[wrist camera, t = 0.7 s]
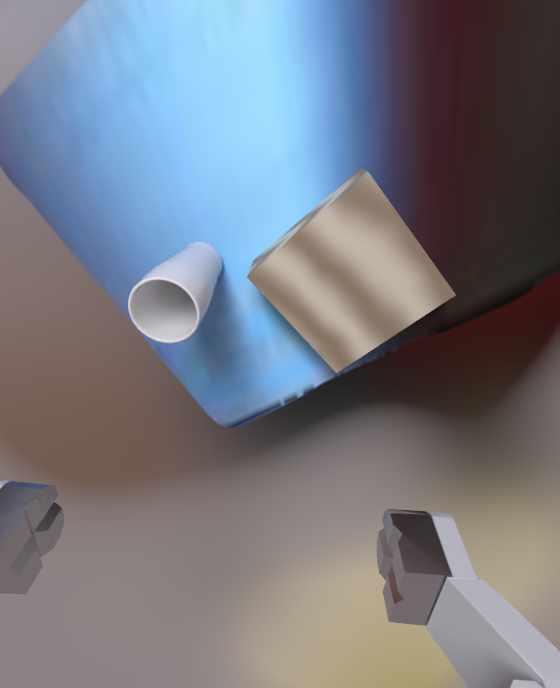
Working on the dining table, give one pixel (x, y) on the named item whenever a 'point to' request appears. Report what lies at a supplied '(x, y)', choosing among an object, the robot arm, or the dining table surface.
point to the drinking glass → (176, 293)
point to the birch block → (350, 274)
